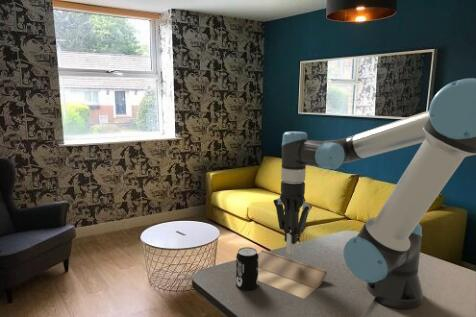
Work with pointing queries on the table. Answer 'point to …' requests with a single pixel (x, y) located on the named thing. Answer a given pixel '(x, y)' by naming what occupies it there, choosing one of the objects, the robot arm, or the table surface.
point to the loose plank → (291, 269)
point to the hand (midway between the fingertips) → (290, 252)
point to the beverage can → (247, 269)
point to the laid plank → (284, 284)
